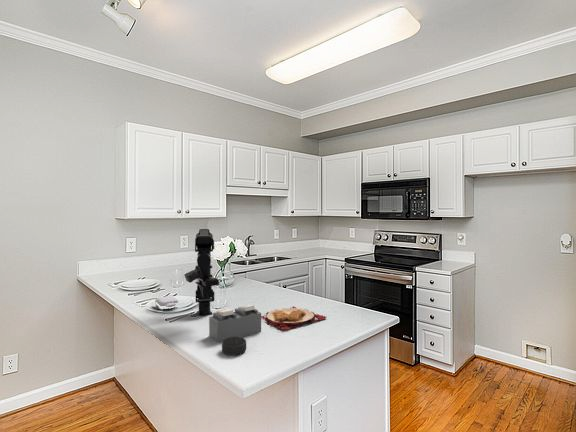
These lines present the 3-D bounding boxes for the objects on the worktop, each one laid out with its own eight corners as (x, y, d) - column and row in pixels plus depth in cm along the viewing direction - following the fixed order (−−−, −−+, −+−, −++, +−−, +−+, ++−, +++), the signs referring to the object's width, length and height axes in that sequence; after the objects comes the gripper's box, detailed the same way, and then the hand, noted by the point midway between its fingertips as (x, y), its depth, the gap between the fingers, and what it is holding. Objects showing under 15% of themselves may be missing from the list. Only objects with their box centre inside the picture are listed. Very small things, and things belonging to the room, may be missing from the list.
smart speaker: (237, 344, 135) (237, 334, 135) (251, 352, 128) (251, 341, 128) (217, 350, 129) (217, 340, 129) (230, 358, 122) (230, 347, 122)
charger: (164, 314, 172) (155, 306, 184) (182, 310, 178) (172, 303, 190) (164, 304, 172) (155, 298, 184) (182, 301, 178) (172, 295, 190)
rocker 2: (238, 311, 149) (237, 307, 150) (247, 309, 152) (246, 305, 152) (245, 311, 144) (245, 307, 145) (254, 309, 147) (254, 305, 147)
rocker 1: (216, 314, 144) (216, 310, 144) (226, 312, 146) (226, 308, 146) (223, 316, 138) (223, 311, 139) (233, 314, 141) (233, 310, 141)
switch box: (209, 336, 143) (209, 313, 143) (251, 326, 155) (251, 305, 155) (217, 342, 137) (217, 318, 136) (261, 331, 148) (261, 309, 148)
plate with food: (327, 321, 165) (327, 313, 165) (283, 332, 148) (283, 323, 148) (293, 309, 184) (293, 302, 184) (251, 318, 167) (251, 310, 167)
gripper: (179, 262, 159) (179, 296, 159) (194, 268, 144) (194, 306, 144) (202, 260, 165) (202, 292, 166) (219, 265, 150) (219, 301, 151)
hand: (204, 298), depth 156 cm, fingers closed
